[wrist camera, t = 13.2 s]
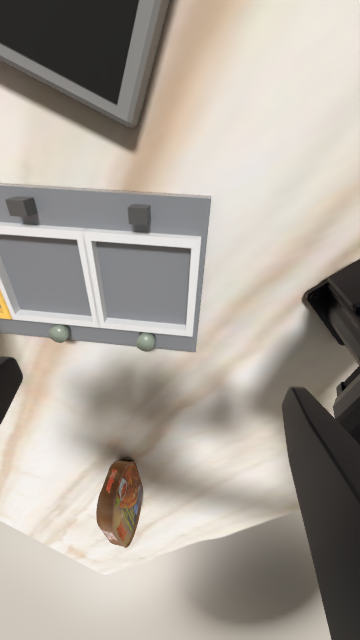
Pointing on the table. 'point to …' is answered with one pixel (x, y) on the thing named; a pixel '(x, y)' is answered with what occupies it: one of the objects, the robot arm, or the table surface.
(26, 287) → the breaker panel
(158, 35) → the electronic device
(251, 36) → the table surface
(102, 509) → the tin
